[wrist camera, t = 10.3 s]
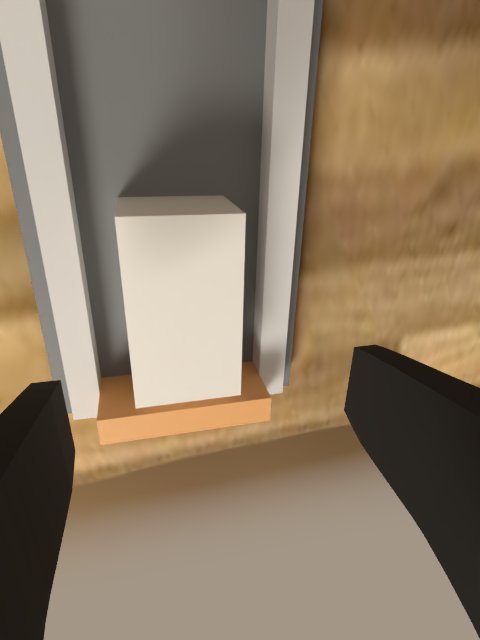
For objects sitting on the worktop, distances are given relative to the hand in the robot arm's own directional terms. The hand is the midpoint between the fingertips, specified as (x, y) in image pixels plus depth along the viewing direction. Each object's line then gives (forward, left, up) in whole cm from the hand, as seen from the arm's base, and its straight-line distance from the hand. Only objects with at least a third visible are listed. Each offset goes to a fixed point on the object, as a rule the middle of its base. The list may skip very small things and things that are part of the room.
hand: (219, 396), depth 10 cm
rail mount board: (0, -3, -9) cm, 10 cm away
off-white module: (0, 0, -8) cm, 8 cm away
